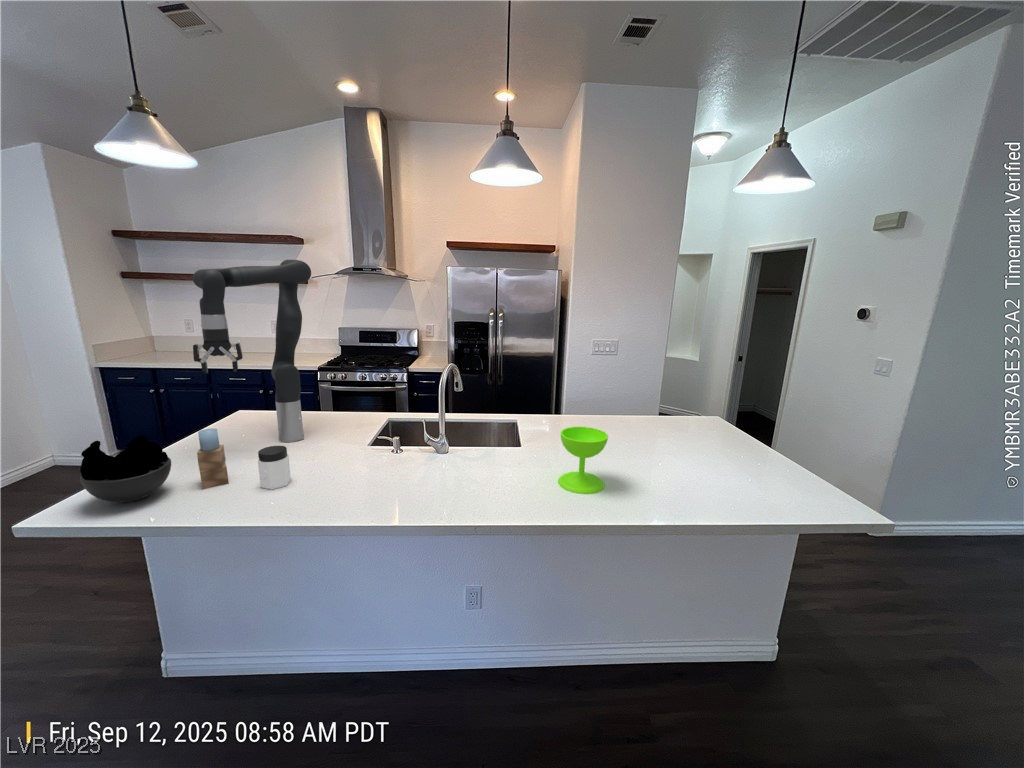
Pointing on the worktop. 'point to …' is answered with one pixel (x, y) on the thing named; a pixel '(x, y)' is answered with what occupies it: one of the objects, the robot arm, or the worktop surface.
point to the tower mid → (211, 458)
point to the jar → (274, 467)
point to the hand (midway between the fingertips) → (220, 372)
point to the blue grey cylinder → (208, 439)
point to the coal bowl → (124, 471)
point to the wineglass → (582, 458)
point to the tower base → (214, 477)
